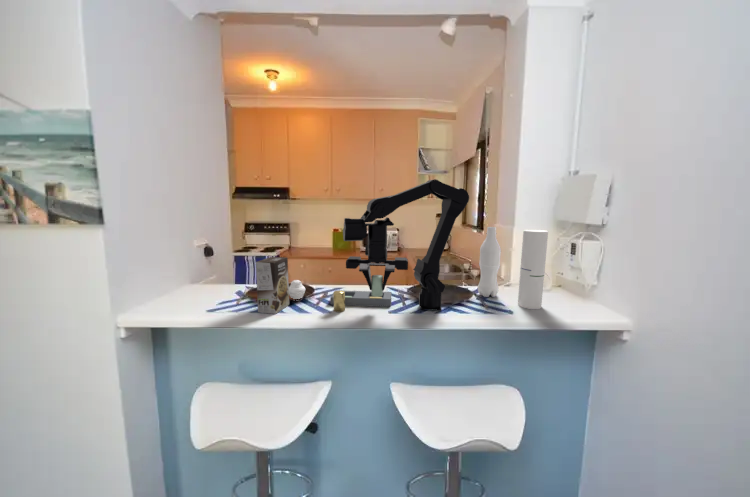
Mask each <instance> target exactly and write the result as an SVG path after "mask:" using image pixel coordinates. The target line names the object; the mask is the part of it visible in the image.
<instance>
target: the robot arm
mask: <svg viewBox="0 0 750 497" xmlns="http://www.w3.org/2000/svg"><path fill="white" fill-rule="evenodd" d="M429 195H433V196H434V197H436V198H437V199H440V200H442V201H441V213H440V214H441V215H440V218H439V220H438V223H437V225H436V228H435V230H434V233H433V236H432V238H431V241H430V243H429V247H428V249H427V251H426V254H425V255H424V257H423V258H422V259H420V258H417V260H416V264H415V266H414V267H413V269H412V270H413V276H414V278H415V280H416V281H417V282H418V283H419V286H420V291H419V292H418V305H419V306H418V307H420V310H422V311H442V310H443V309H442V293H443V292H444V291H445V288H446V285H445V284H444V283H443V282H442V281H441V280H440V279H439V277H440V272H441V271H440V270H441V268H440V267H441V266H440V263H441V262H440V261H441V258H442V255H443V253H444V250H445V248H446V245H447V243H448V241H449V238H450V235H451V233H452V231H453V230H452V229H453V228H454V224H455V223H456V222H455V221H456V220H457V218H458V217H459V216H460V215H461V214H462V213H463V211H464V210H465V208H466V206H467V205H468V203H469V201H470V195H469V192H468V191H467V190H466V189H464V188H457V187H454V186H453V185H450V184H447V183H444V182H442V181H440V180H438V179H436V178H435V179H429V180H426V182H424V183H421V184H418V185H416V186H414V187H410V188H408V189H405V190H403V191H401V192H398V193H396V194H393V195H388V196H387V195H386V196H382V197H377V198H373V199H370V200H369V201H368V202H367V205H366V210H365V211H364V213H363V215H361V217H360V218H350V217H344V218H343V220H344V221H343V228H342V236H343V237H342V239H343V241H344V242H359V241H360V242H362V241H364V239H366V238H367V245H365V248H364V250H365V251H364V252H365V254H364V255H365V256H367V259H362V257H361V256H354V255H353V256H349V257H348V258H347V259H346V260H345V268H346V269H350V270H351V269H352V270H353V269H354V270H355V269H357V268H358V267H359V269H358V271H359V272H360V273H362V274H363V276H364V278H365V280H366V283H367V286H368V287H369V291H371V289H372V285H371V283H372V275H371V274H372V273H371V267H372V266H373V267H385V268H384V274H383V286H382V289H383V292H385V288H386V285H387V283H388V279H389V278H390V275H391V274H392V273H395V272H396V271H395V270H398V271H407V270H408V269H409V260H408V259H409V258H407V257H398V256H397V257H396V256H395V257H394V260H393V259H388V249H387V248H388V227H389V226H394V225H395V223H394V222H393V221H392V220H391V219H390V217H387V216H389V215H391V214H392V213H393V212H395V211H396V210H397V209H398V208H400V207H402V206H404V205H407V204H409V203H412V202H415V201H417V200H419V199H423V198H425V197H427V196H429Z"/></svg>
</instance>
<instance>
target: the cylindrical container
mask: <svg viewBox="0 0 750 497" xmlns="http://www.w3.org/2000/svg"><path fill="white" fill-rule="evenodd" d="M548 239H549V231H548V230H543V229H523V233H522V243H521V244H522V246H521V256H520V257H521V258H520V268H519V280H518V282H519V283H518V295H517V306H519V307H520V308H524V309H529V310H539V309H541V308H542V305H543V304H542V303H543V293H544V283H545V282H544V280H545V271H546V259H547V250H548V249H547V248H548Z"/></svg>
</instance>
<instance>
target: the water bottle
mask: <svg viewBox="0 0 750 497" xmlns="http://www.w3.org/2000/svg"><path fill="white" fill-rule="evenodd" d="M486 228H487V230H486V236H485V239H484V240H483V242H482V244H481V245H480V248H479V263H478V265H479V268H480V280H479V283H478V285H477V292H478V294H479V295H480V296H483V297H484V298H489V297H490V296H491V298H495V297H496V296H497V295H498V292H499V285H498V272H499V270H500V267H501V252H502V248H501V245H500V243H499V241H498V238H497V227H496V226H487V227H486Z"/></svg>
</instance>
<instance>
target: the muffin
mask: <svg viewBox="0 0 750 497" xmlns="http://www.w3.org/2000/svg"><path fill="white" fill-rule="evenodd" d="M305 292H306V287H305V286H304V285H303V283H302V281H301V280H299V279H293V280H292V281H291V283H290V285H289V298H293V299H300V298H302V299H303V297H304V295H305Z"/></svg>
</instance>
